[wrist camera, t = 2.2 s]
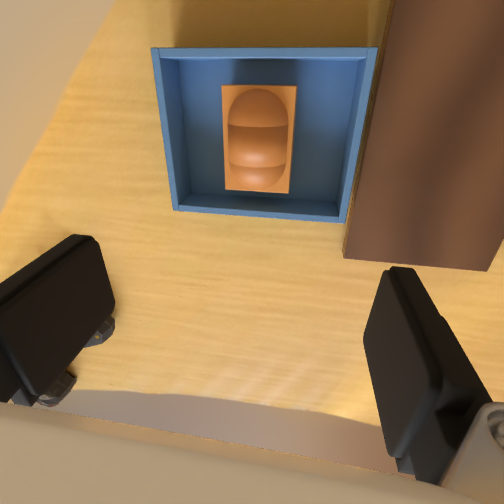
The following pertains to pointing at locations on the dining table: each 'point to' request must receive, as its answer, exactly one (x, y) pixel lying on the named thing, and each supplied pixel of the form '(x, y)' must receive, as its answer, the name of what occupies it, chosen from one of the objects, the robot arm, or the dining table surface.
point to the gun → (65, 380)
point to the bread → (258, 136)
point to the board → (434, 140)
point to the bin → (305, 135)
